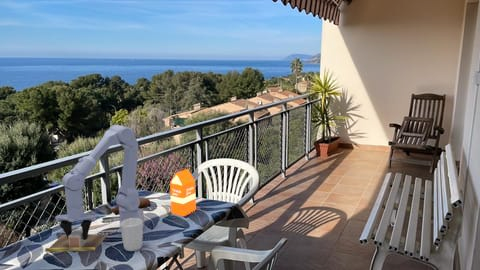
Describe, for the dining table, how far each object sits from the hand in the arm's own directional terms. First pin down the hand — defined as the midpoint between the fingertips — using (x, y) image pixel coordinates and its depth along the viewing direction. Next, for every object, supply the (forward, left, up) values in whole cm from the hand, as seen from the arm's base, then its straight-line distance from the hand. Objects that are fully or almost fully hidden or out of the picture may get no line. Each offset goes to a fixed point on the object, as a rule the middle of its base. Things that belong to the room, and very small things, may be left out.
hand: (77, 238), depth 141 cm
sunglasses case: (-8, -39, -4) cm, 40 cm away
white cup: (-21, +1, -3) cm, 21 cm away
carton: (0, 0, -2) cm, 2 cm away
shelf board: (+1, -2, -3) cm, 4 cm away
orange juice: (-35, -34, -3) cm, 49 cm away
